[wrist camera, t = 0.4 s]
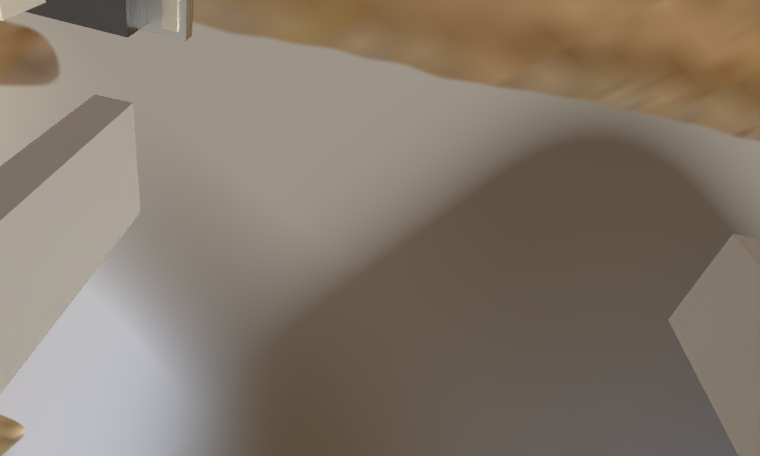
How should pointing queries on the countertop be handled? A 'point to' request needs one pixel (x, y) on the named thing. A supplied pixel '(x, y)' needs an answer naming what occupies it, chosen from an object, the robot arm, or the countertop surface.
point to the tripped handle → (16, 7)
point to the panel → (124, 15)
